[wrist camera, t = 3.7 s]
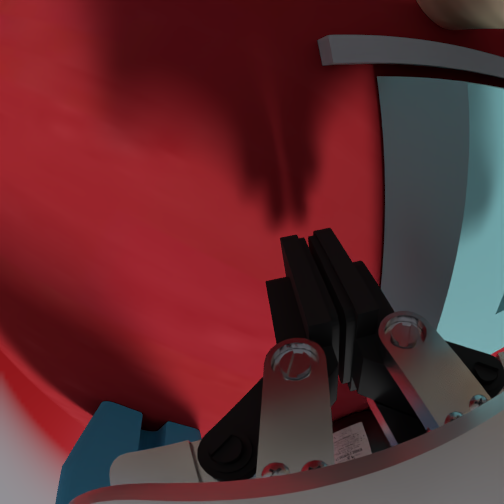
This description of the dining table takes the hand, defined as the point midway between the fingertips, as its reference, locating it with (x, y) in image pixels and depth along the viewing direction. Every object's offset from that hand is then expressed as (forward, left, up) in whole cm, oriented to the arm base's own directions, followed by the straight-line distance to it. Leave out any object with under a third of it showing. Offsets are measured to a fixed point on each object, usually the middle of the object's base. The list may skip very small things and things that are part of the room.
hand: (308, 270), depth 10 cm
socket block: (-10, 0, -3) cm, 10 cm away
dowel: (-8, -10, -3) cm, 13 cm away
